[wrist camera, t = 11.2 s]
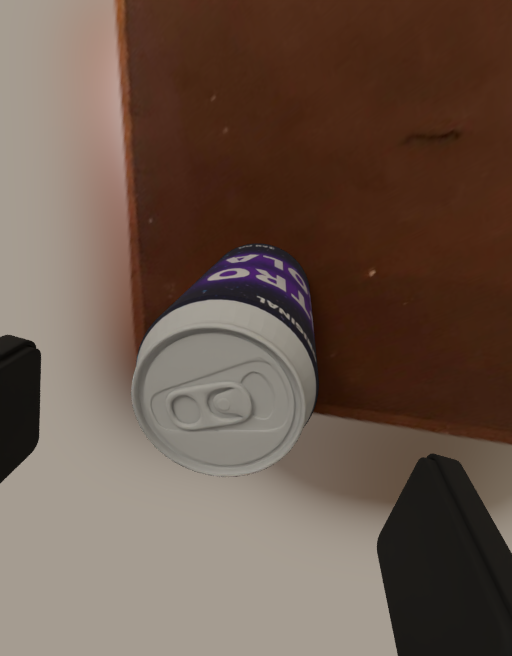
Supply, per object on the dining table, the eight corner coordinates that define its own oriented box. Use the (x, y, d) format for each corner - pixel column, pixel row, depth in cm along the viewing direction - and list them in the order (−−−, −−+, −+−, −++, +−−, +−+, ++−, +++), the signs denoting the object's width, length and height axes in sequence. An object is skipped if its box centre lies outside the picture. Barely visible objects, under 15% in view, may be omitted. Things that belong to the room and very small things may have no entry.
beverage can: (317, 327, 22) (337, 477, 11) (226, 344, 23) (155, 497, 12) (298, 230, 20) (297, 288, 9) (199, 253, 21) (85, 332, 10)
